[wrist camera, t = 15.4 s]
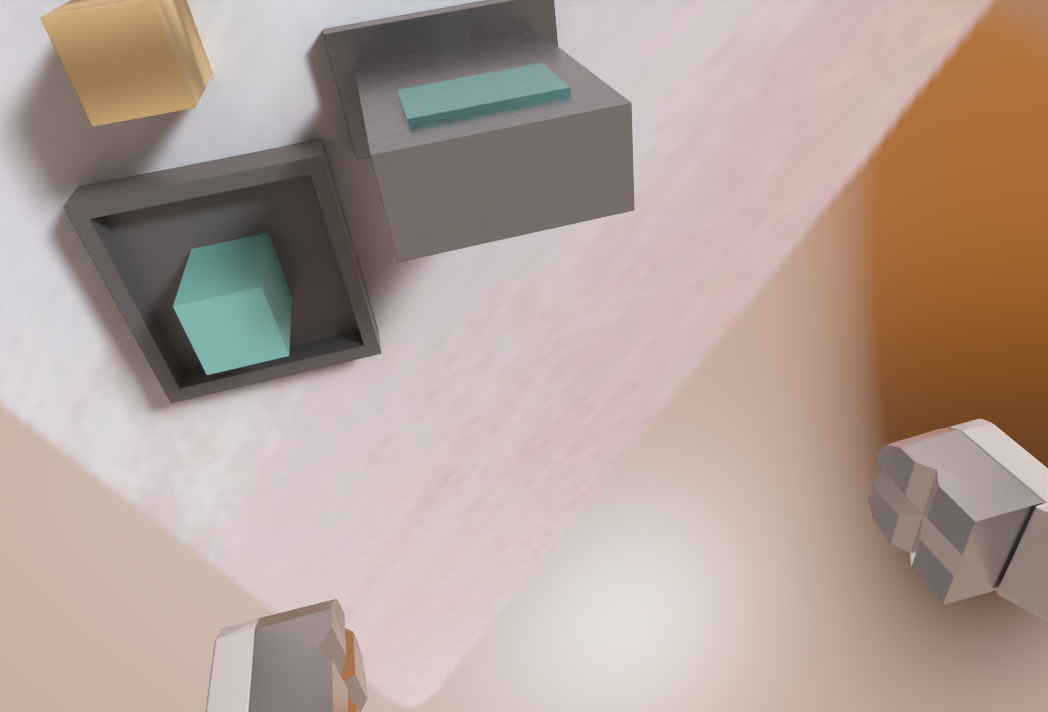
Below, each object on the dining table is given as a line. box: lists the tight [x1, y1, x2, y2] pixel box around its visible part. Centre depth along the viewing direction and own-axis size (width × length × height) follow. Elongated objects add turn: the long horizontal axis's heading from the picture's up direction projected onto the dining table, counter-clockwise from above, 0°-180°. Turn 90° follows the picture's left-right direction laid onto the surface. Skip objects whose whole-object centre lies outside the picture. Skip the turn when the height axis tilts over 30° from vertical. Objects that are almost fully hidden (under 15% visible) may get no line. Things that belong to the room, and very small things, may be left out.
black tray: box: [64, 139, 381, 403], centre depth 38 cm, size 12×12×2 cm
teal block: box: [173, 233, 292, 375], centre depth 36 cm, size 4×4×6 cm
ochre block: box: [40, 0, 213, 127], centre depth 30 cm, size 4×4×6 cm
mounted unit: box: [323, 0, 634, 262], centre depth 30 cm, size 6×11×14 cm, turn 97°
